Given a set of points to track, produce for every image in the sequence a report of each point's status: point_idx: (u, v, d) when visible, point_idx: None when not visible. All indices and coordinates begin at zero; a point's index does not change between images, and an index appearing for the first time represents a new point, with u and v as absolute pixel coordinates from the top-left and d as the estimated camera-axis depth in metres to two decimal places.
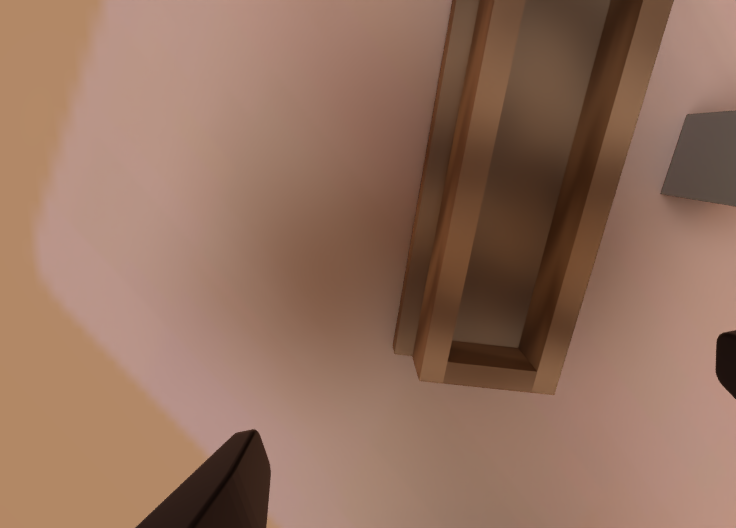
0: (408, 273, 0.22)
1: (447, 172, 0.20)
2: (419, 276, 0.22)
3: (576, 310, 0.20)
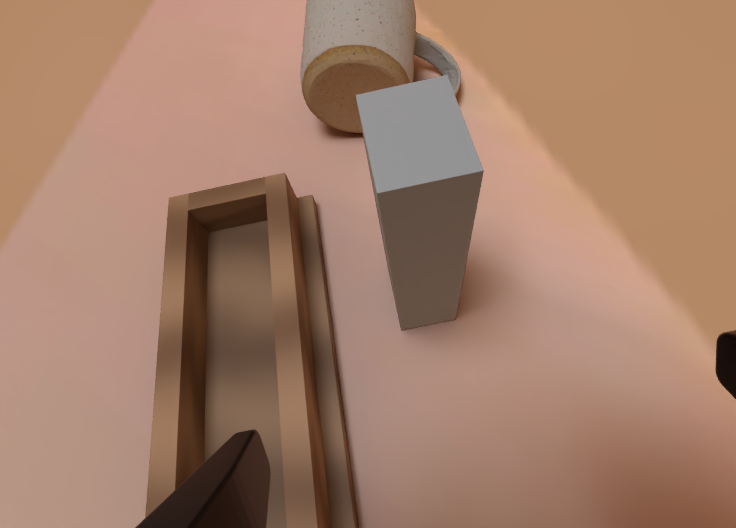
0: None
1: None
2: None
3: (307, 462, 0.17)
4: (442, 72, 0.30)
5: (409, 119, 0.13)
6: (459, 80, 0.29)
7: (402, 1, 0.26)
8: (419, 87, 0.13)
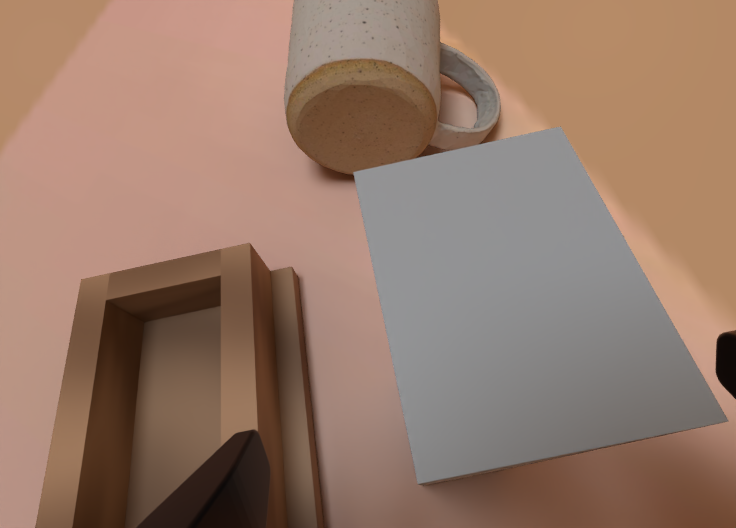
0: None
1: None
2: None
3: None
4: (473, 94, 0.23)
5: (485, 239, 0.05)
6: (498, 105, 0.21)
7: None
8: (500, 155, 0.06)
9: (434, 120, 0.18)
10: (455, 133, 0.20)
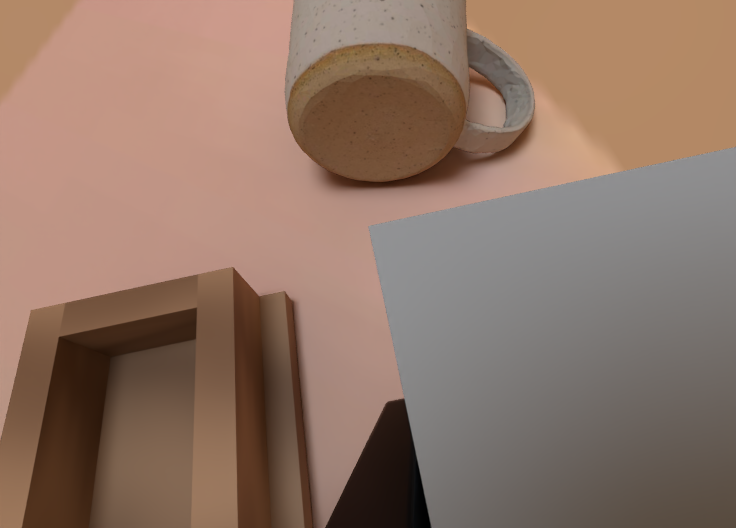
0: None
1: None
2: None
3: None
4: (500, 88, 0.20)
5: (660, 391, 0.02)
6: (532, 100, 0.19)
7: None
8: (654, 199, 0.03)
9: (463, 118, 0.15)
10: (485, 134, 0.17)
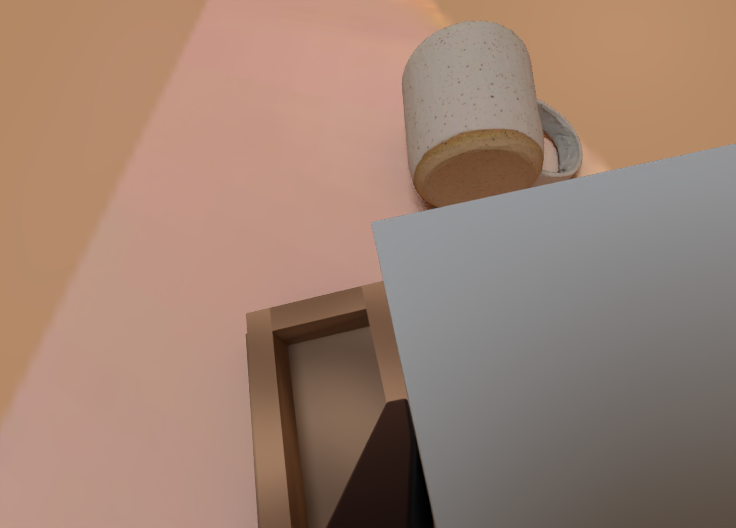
0: None
1: None
2: None
3: None
4: (552, 136, 0.27)
5: (659, 386, 0.02)
6: (580, 149, 0.25)
7: (528, 67, 0.22)
8: (654, 194, 0.03)
9: (540, 171, 0.22)
10: (550, 178, 0.23)
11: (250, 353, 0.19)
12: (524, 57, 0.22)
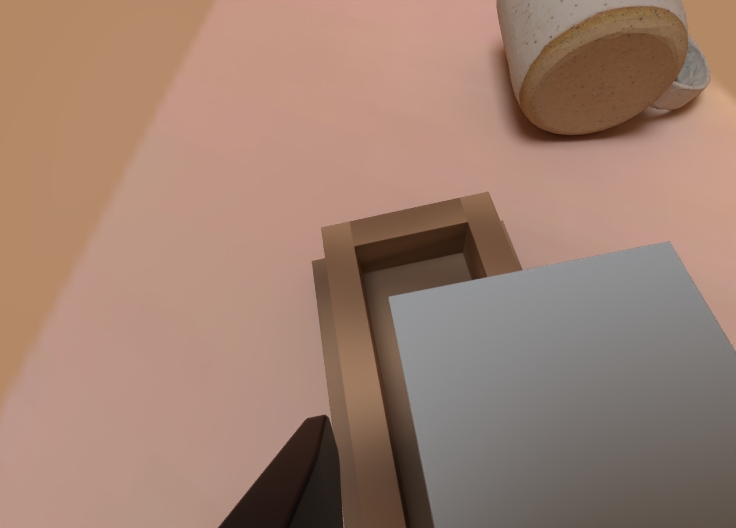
0: None
1: None
2: None
3: None
4: None
5: (579, 422, 0.04)
6: (707, 65, 0.22)
7: None
8: (589, 283, 0.04)
9: (678, 74, 0.18)
10: (680, 90, 0.20)
11: (329, 270, 0.16)
12: None
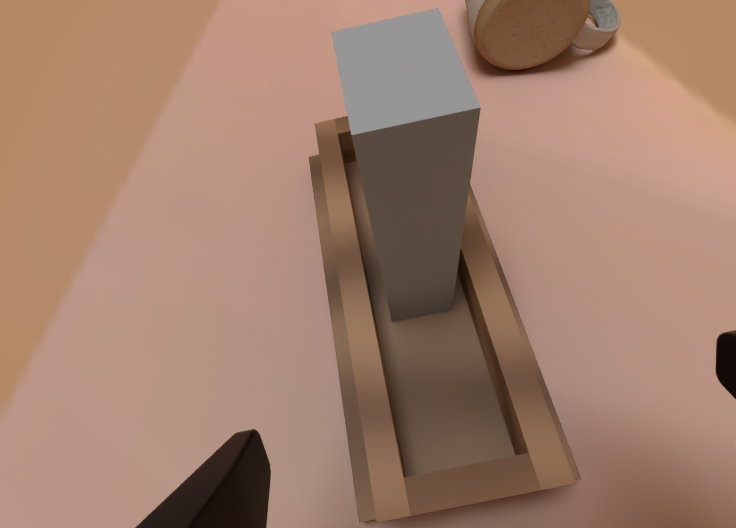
0: (343, 404, 0.19)
1: None
2: (355, 402, 0.19)
3: (523, 353, 0.17)
4: (592, 12, 0.30)
5: (392, 55, 0.11)
6: (619, 16, 0.28)
7: None
8: (405, 21, 0.11)
9: (586, 16, 0.25)
10: (593, 32, 0.27)
11: (320, 148, 0.23)
12: None
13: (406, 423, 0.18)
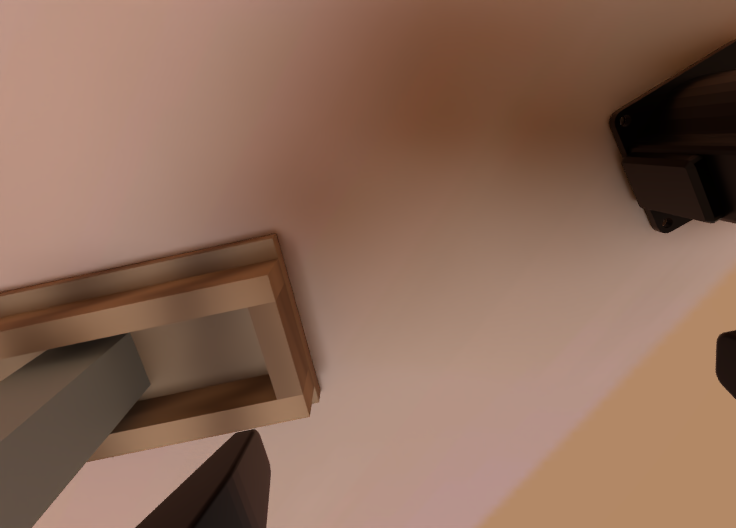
0: None
1: None
2: None
3: (159, 301, 0.17)
4: None
5: None
6: None
7: None
8: None
9: None
10: None
11: None
12: None
13: (242, 371, 0.21)
